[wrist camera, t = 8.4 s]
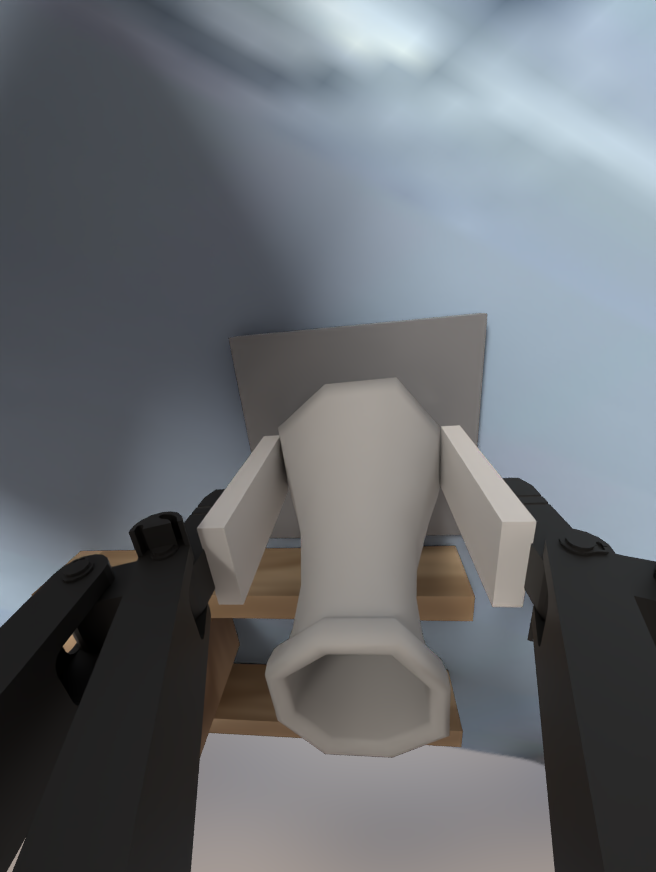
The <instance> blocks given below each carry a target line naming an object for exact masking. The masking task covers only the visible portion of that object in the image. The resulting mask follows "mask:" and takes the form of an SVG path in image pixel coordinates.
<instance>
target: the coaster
mask: <svg viewBox="0 0 656 872" xmlns="http://www.w3.org/2000/svg"><path fill="white" fill-rule="evenodd" d="M486 324H487V314H486V313H475V314H465V315H454V316H444V317H433V318H423V319H412V320H402V321H391V322H380V323H370V324H359V325H349V326H338V327H328V328H317V329H307V330H296V331H286V332H275V333H265V334H254V335H243V336H234V337H230V338H229V343H230V348H231V353H232V358H233V363H234V368H235V373H236V378H237V383H238V388H239V393H240V398H241V403H242V408H243V413H244V418H245V423H246V429H247V434H248V439H249V444H250V449H251V453H252V452H253V450H254V449H255V448H256V446H257V445H258V444H259V442H260V441H261V440H262V438H263V437H264V436H276V435H279V431H278V427H279V426H280V425H281V424H282V423H284V422H285V421H286V420H287V419H288V418H289V417H290V416H291V415H292V414H293V413H294V412H295V411H297V410H298V409H299V408H300V407H301V406H302V405H303V404H304V403H305V402H306V401H307V400H308V399H309V398H311V397H312V396H313V395H314V394H315V393H316V392H317V391H318V390H319V389H320V388H321V387H322V386H324V385H325V384H332V383H342V382H353V381H363V380H373V379H384V378H394V377H396V378H397V379H398V380H399V381H400V382H401V383H402V384H403V386H404V387H405V388H406V389H407V390H408V391H409V392H410V394H411V395H412V396H413V397H414V398H415V399H416V400H417V402H418V403H419V404H420V405H421V406H422V407H423V408H424V410H425V411H426V412H427V413H428V414H429V415H430V416H431V418H432V419H433V420H434V421H435V422H436V423H437V424H438V425H439V427H440V440H441V426H456V425H460V426H461V428H462V429H463V430H464V431H465V433H466V434H467V435H468V436H469V438H470V439H471V440H472V441H473V443H474V444H475V445H476V446H477V441H478V428H479V415H480V402H481V389H482V376H483V363H484V350H485V337H486ZM288 486H289V485H288ZM426 535H461V533H460V530H459V528H458V526H457V523H456V521H455V519H454V516H453V514H452V512H451V509H450V507H449V505H448V502H447V500H446V498H445V495H444V493H443V491H442V488H441V486H440V489H439V493H438V497H437V500H436V503H435V506H434V509H433V512H432V515H431V518H430V521H429V524H428V528H427V532H426ZM270 538H301V533H300V528H299V524H298V519H297V516H296V512H295V508H294V505H293V501H292V498H291V494H290V490H289V489H288V492H287V494H286V497H285V499H284V502H283V505H282V507H281V510H280V512H279V515H278V517H277V520H276V522H275V525H274V528H273V530H272V533H271V535H270Z"/></svg>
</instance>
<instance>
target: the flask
mask: <svg viewBox="0 0 656 872" xmlns="http://www.w3.org/2000/svg"><path fill="white" fill-rule="evenodd" d="M278 431H279V436H280V442H281V447H282V453H283V458H284V463H285V469H286V474H287V480H288V485H289V490H290V494H291V498H292V501H293V505H294V508H295V512H296V516H297V519H298V524H299V528H300V533H301V588H300V593H299V598H298V603H297V609H296V614H295V619H294V624H293V629H292V631H291V634H290V637H289V639H288V640H286V641H284V642H283V643H281V644H279V645H278V646H277V647H276V648H275V649H274V650H273V652H272V654H271V656H270V658H269V659H268V661H267V666H266V671H265V678H266V681H267V685H268V688H269V692H270V695H271V699H272V702H273V706H274V709H275V713H276V716H277V720H278V721H279V722H281V723H282V724H283V725H285V726H286V727H288V728H289V729H290V730H292V731H293V732H295V733H296V734H298V735H299V736H300V737H302V738H303V739H305V740H306V741H307V742H309V743H310V744H312V745H313V746H315V747H316V748H317V749H319V750H320V751H322V752H323V753H324V754H333V755H354V756H372V757H391V758H392V757H395V756H398V755H400V754H403V753H406V752H408V751H411V750H414V749H416V748H418V747H421V746H424V745H427V744H429V743H432V742H435V741H437V740H440V739H442V738H445V737H448V736H449V732H450V697H451V688H450V682H449V676H448V673H447V671H446V669H445V667H444V664H443V662H442V660H441V659H440V658H439V657H438V656H437V655H436V654H435V653H434V652H432V651H431V650H430V649H429V648H428V647H427V646H426V644H425V641H424V638H423V635H422V629H421V623H420V617H419V611H418V605H417V599H416V596H417V568H418V564H419V560H420V556H421V552H422V548H423V544H424V540H425V536H426V532H427V528H428V524H429V521H430V518H431V515H432V512H433V509H434V506H435V503H436V500H437V497H438V493H439V489H440V427H439V425H438V424H437V423H436V422H435V421H434V420H433V419H432V418H431V416H430V415H429V414H428V413H427V412H426V411H425V410H424V408H423V407H422V406H421V405H420V404H419V403H418V402H417V400H416V399H415V398H414V397H413V396H412V395H411V394H410V392H409V391H408V390H407V389H406V388H405V387H404V386H403V384H402V383H401V382H400V381H399V380H398V379H397V378H396V377H394V378H384V379H373V380H363V381H353V382H342V383H332V384H325V385H324V386H322V387H321V388H320V389H319V390H318V391H317V392H316V393H315V394H314V395H313V396H312V397H311V398H309V399H308V400H307V401H306V402H305V403H304V404H303V405H302V406H301V407H300V408H299V409H298V410H297V411H295V412H294V413H293V414H292V415H291V416H290V417H289V418H288V419H287V420H286V421H285V422H284V423H282V424H281V425H280V426H279V427H278Z"/></svg>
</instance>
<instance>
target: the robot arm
mask: <svg viewBox="0 0 656 872" xmlns="http://www.w3.org/2000/svg"><path fill="white" fill-rule="evenodd" d="M440 486H441V488H442V491H443V493H444V495H445V498H446V500H447V502H448V505H449V507H450V509H451V512H452V514H453V516H454V519H455V521H456V523H457V526H458V528H459V530H460V533H461V535H462V537H463V540H464V542H465V544H466V547H467V549H468V551H469V554H470V556H471V558H472V561H473V563H474V565H475V568H476V570H477V572H478V575H479V577H480V579H481V582H482V584H483V586H484V588H485V591H486V593H487V595H488V598H489V600H490V602H491V605H492V607H523V602H524V595H525V591H526V592H527V594H528V596H529V598H530V599H531V601H532V603H533V605H534V606H533V612H532V618H531V623H530V629H529V634H528V640H529V641H533V642H534V653H535V664H536V674H537V685H538V696H539V706H540V717H541V728H542V739H543V749H544V760H545V771H546V781H547V791H548V802H549V813H550V823H551V835H552V845H553V856H554V866H555V872H656V562H655V561H650V560H644V559H639V558H633V557H628V556H623V555H618V554H615V552H614V551H613V549H612V548H611V547H610V546H609V544H607V543H606V542H604V541H603V540H602V539H600V538H599V537H596V536H594V535H592V534H589V533H587V532H584V531H580V530H576V529H572V528H571V526H570V525H569V524H568V523H567V522H566V521H565V520H564V519H563V518H562V517H561V516H560V515H559V514H558V513H557V511H556V510H555V509H554V508H553V507H552V506H551V505H550V504H548V502H547V501H546V500H545V499H544V498H543V497H541V494H540V493H539V492H538V491H537V490H536V489H535V488H534V487H533V486H532V485H530V484H529V483H527V482H525V481H523V480H521V479H520V478H501V476H500V475H499V474H498V473H497V471H496V470H495V469H494V468H493V466H492V465H491V464H490V463H489V461H488V460H487V459H486V458H485V456H484V455H483V454H482V453H481V451H480V450H479V449H478V448H477V446H476V445H475V444H474V443H473V441H472V440H471V439H470V438H469V436H468V435H467V434H466V433H465V431H464V430H463V429H462V428H461V426H460V425H456V426H441V440H440ZM288 489H289V486H288V480H287V474H286V469H285V463H284V458H283V453H282V447H281V442H280V436H279V435H276V436H264V437H263V438H262V440H261V441H260V442H259V444H258V445H257V446H256V448H255V449H254V450H253V452H252V453H251V455H250V456H249V457H248V459H247V460H246V461H245V463H244V464H243V466H242V467H241V468H240V470H239V471H238V472H237V474H236V475H235V477H234V478H233V479H232V481H231V482H230V483H229V485H228V486H227V488H226V489H220V490H215V491H213V492H212V493H210V494H209V495H207V496H206V497H205V498H204V499H203V500H202V501H201V503H200V504H199V505H198V508H196V509H195V510H194V511H193V512H192V515H190V516H189V517H188V519H187V520H186V521H185V522H183V519H182V516H181V515H180V514H179V513H177V512H162V513H158V514H155V515H151V516H149V517H147V518H145V519H143V520H141V521H140V522H138V523H137V524H136V525H134V526H133V527H132V528H131V530H130V531H129V535H130V537H131V540H132V543H133V545H134V548H135V550H136V553H137V556H138V559H137V561H134V562H130V563H125V564H121V565H117V566H113V567H111V565H110V562H109V560H108V558H107V557H106V556H104V555H103V554H93V555H88V556H83V557H80V558H79V559H75V560H73V561H72V562H70V563H69V564H67V565H65V566H63V567H62V568H61V569H59V570H58V571H57V572H56V573H55V574H53V575H52V576H51V577H50V578H49V579H48V580H47V581H46V582H45V583H44V584H43V585H42V586H41V587H40V588H39V589H38V590H37V591H36V592H35V593H34V594H33V595H32V596H31V597H30V598H29V599H28V600H27V601H26V602H25V603H24V604H23V605H22V606H21V607H20V608H19V609H18V610H17V611H16V612H15V613H14V614H13V615H12V616H11V617H10V618H9V619H8V620H7V621H6V622H5V623H4V624H3V625H2V626H1V627H0V872H7V870H8V868H9V867H10V865H11V863H12V861H13V859H14V858H15V856H16V854H17V852H18V850H19V849H20V847H21V845H22V843H23V841H24V840H25V841H24V844H23V846H22V849H21V851H20V854H19V856H18V859H17V861H16V864H15V866H14V869H13V871H12V872H191V860H192V849H193V836H194V823H195V811H196V799H197V786H198V774H199V761H200V749H201V736H202V724H203V711H204V699H205V686H206V674H207V661H208V648H209V636H210V623H211V611H210V607H209V604H208V602H209V600H210V598H211V596H212V594H213V592H214V590H215V593H216V597H217V600H218V603H219V605H243V604H244V602H245V599H246V597H247V594H248V592H249V589H250V587H251V584H252V581H253V579H254V576H255V574H256V571H257V569H258V566H259V563H260V561H261V558H262V556H263V553H264V551H265V548H266V546H267V543H268V540H269V538H270V535H271V533H272V530H273V528H274V525H275V522H276V520H277V517H278V515H279V512H280V510H281V507H282V505H283V502H284V499H285V497H286V494H287V492H288ZM71 635H73V637H74V638H75V640H76V642H77V643H76V644H75V646H74V647H73V648H72V649H71V650H70V651H69V652H68V653H67V652H66V651H65V649H64V647H63V646H64V644H65V643H66V642H67V640H68V639H69V638H70V636H71ZM25 838H26V839H25Z"/></svg>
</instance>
